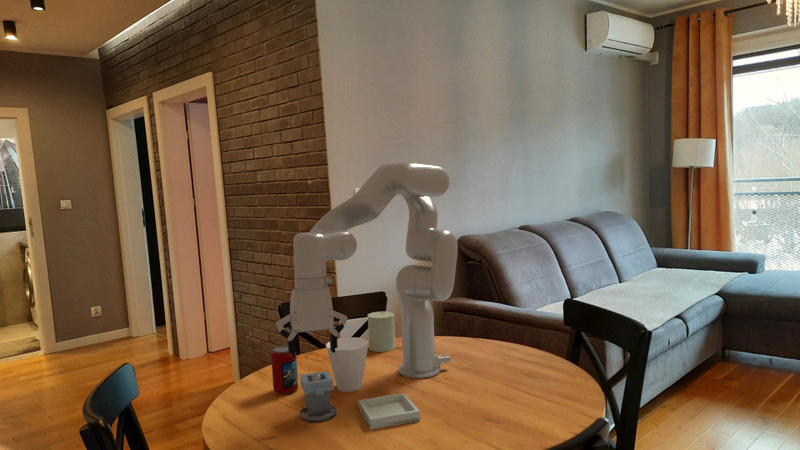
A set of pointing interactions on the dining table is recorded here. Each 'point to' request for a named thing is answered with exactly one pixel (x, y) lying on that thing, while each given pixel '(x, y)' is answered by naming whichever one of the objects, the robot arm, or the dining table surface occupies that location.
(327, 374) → the blue-grey rectangular frame
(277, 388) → the beverage can
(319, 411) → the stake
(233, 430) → the dining table surface
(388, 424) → the tray
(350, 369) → the cup
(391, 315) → the can
